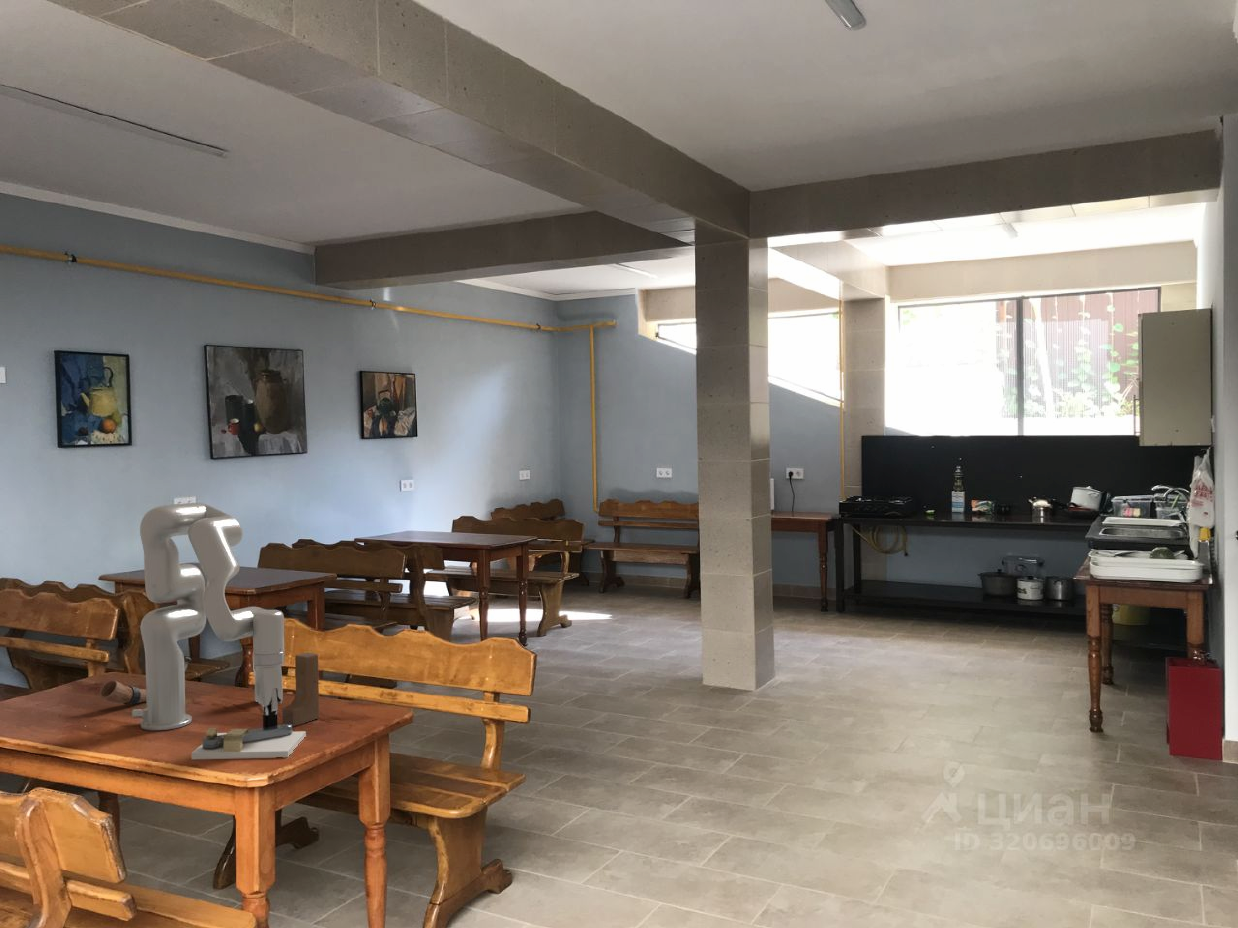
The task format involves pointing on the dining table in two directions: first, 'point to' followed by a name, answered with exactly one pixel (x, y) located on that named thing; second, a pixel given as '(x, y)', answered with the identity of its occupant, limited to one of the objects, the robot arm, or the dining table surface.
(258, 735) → the link
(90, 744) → the dining table surface
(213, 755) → the base plate
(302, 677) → the wooden block
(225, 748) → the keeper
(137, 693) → the drinking horn
